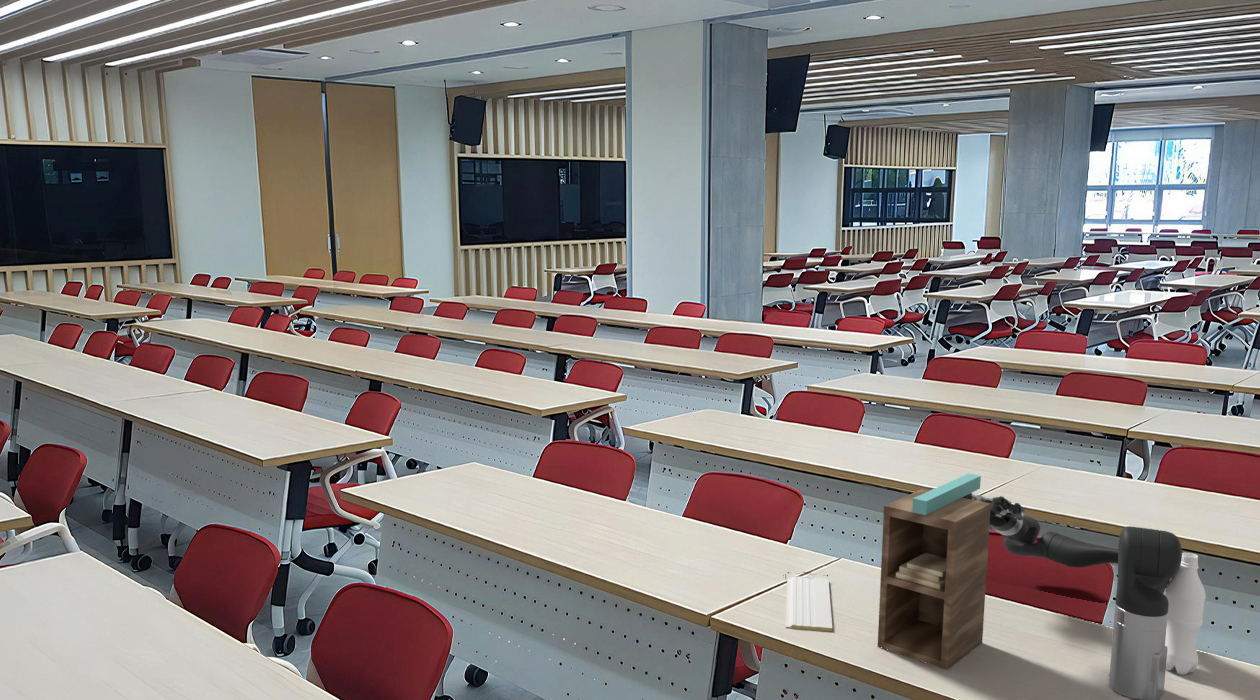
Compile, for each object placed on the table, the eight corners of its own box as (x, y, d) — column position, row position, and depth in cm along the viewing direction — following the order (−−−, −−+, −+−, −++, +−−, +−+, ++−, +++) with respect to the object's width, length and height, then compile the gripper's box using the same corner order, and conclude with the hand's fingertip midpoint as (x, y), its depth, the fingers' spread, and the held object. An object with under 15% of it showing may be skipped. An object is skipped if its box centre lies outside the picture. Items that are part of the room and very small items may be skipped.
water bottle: (1152, 668, 199) (1165, 554, 195) (1163, 657, 204) (1176, 546, 200) (1191, 680, 194) (1204, 564, 190) (1201, 669, 199) (1214, 555, 195)
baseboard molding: (779, 630, 218) (832, 634, 216) (779, 617, 217) (832, 622, 215) (781, 580, 248) (828, 583, 246) (781, 569, 248) (828, 573, 246)
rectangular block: (980, 488, 218) (980, 475, 218) (925, 515, 198) (926, 501, 197) (967, 486, 220) (968, 473, 220) (912, 512, 200) (912, 498, 199)
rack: (982, 642, 211) (990, 503, 206) (947, 670, 197) (955, 521, 193) (914, 622, 221) (921, 489, 217) (877, 646, 208) (884, 505, 204)
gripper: (978, 496, 240) (956, 476, 229) (1035, 508, 231) (1016, 487, 219) (970, 524, 238) (948, 505, 227) (1028, 537, 229) (1008, 518, 218)
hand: (982, 496), depth 223 cm, fingers open, 8 cm apart
